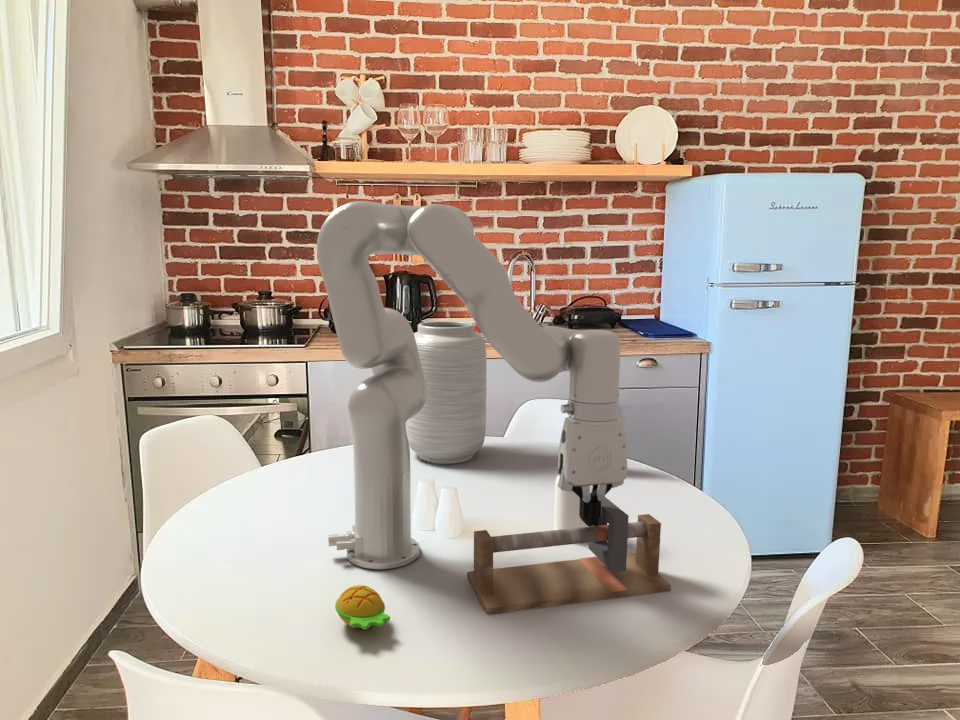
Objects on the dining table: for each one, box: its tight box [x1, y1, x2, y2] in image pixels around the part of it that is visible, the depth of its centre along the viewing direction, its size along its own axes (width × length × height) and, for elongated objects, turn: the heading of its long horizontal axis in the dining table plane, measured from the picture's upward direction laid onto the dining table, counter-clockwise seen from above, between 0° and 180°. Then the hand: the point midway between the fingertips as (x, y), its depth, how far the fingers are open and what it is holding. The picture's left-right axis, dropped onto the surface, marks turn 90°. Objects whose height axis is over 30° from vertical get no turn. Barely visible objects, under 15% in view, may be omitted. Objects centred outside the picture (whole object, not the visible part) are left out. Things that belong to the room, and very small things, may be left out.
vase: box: [406, 320, 487, 465], centre depth 180 cm, size 20×20×34 cm
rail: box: [466, 513, 672, 615], centre depth 114 cm, size 30×12×10 cm, turn 105°
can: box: [553, 472, 591, 530], centre depth 133 cm, size 6×6×12 cm
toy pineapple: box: [334, 584, 391, 630], centre depth 101 cm, size 7×10×5 cm
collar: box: [588, 496, 630, 572], centre depth 116 cm, size 2×9×9 cm, turn 15°
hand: (589, 522), depth 114 cm, fingers closed
